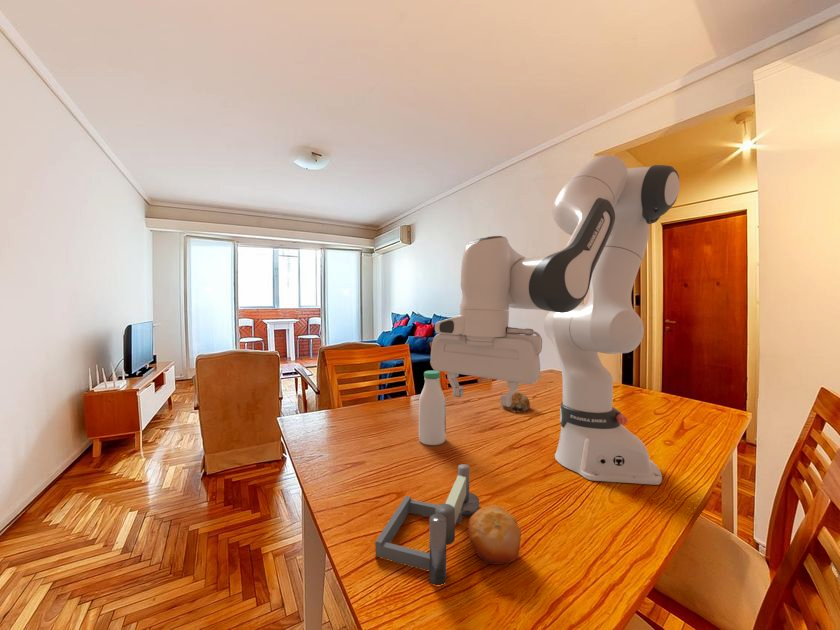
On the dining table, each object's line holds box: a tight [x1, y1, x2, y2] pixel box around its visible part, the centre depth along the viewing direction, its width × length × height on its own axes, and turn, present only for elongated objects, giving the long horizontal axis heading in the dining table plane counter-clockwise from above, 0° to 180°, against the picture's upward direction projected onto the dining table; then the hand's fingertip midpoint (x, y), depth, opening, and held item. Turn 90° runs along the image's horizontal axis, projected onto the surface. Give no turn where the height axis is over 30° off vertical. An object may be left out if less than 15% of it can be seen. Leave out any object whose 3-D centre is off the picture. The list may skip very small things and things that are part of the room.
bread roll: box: [502, 390, 531, 413], centre depth 126 cm, size 10×10×8 cm
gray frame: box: [374, 495, 463, 572], centre depth 57 cm, size 11×13×2 cm
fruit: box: [468, 504, 522, 565], centre depth 53 cm, size 8×8×8 cm
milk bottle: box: [418, 369, 447, 446], centre depth 96 cm, size 8×8×20 cm
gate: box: [435, 463, 470, 546], centre depth 58 cm, size 3×17×6 cm, turn 161°
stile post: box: [429, 514, 447, 585], centre depth 48 cm, size 2×2×9 cm
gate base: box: [461, 491, 480, 518], centre depth 65 cm, size 6×6×2 cm
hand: (480, 400), depth 62 cm, fingers open, 8 cm apart
